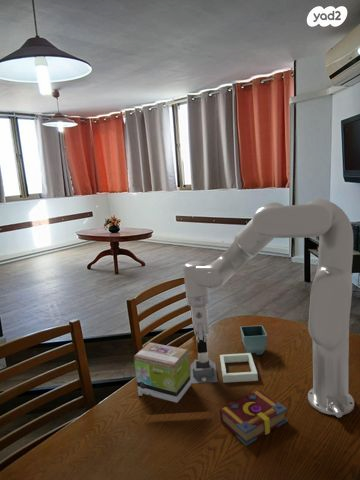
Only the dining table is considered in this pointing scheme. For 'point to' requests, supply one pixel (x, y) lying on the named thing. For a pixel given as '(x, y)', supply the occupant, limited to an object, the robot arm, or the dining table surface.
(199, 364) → the block
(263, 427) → the decorative book
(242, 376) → the parts tray
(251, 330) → the flower pot
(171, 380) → the tea box
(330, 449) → the dining table surface
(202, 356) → the cylinder
